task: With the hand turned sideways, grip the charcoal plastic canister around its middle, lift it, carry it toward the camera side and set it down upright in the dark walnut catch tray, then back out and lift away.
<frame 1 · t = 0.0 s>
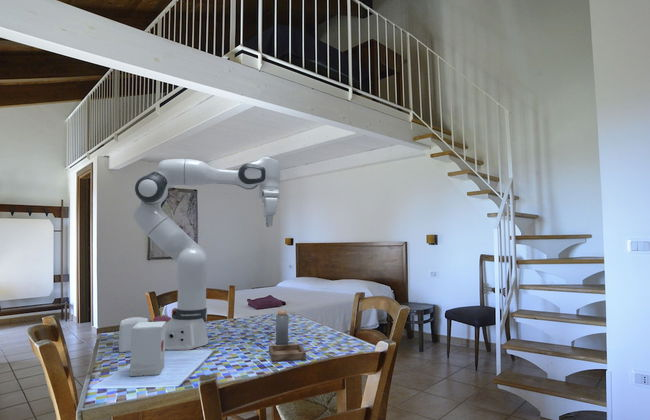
hand: (269, 226, 172), 48 cm above the table, fingers open, 8 cm apart
canister: (281, 345, 161), on the table
supplement box: (147, 372, 129), on the table
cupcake: (161, 331, 183), on the table
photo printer: (133, 351, 152), on the table
catch tray: (286, 356, 147), on the table
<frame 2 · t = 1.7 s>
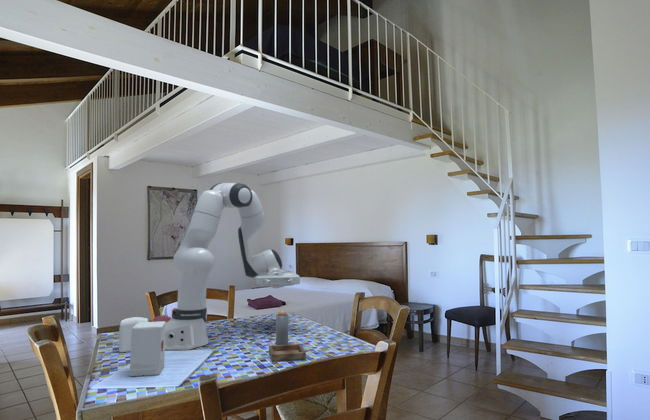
hand: (279, 281, 176), 24 cm above the table, fingers open, 8 cm apart
nothing on the table moved.
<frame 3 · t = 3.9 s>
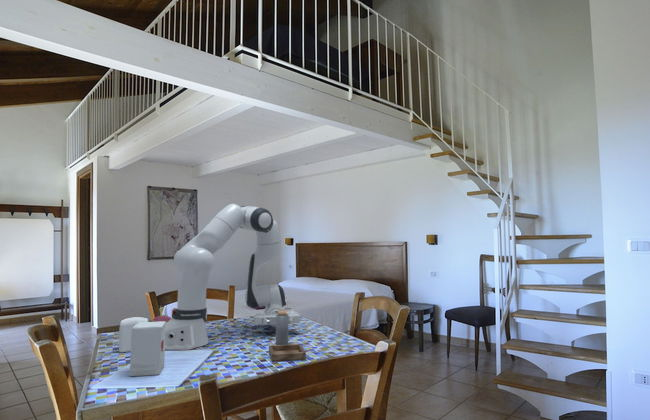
hand: (279, 322, 172), 7 cm above the table, fingers open, 8 cm apart
nothing on the table moved.
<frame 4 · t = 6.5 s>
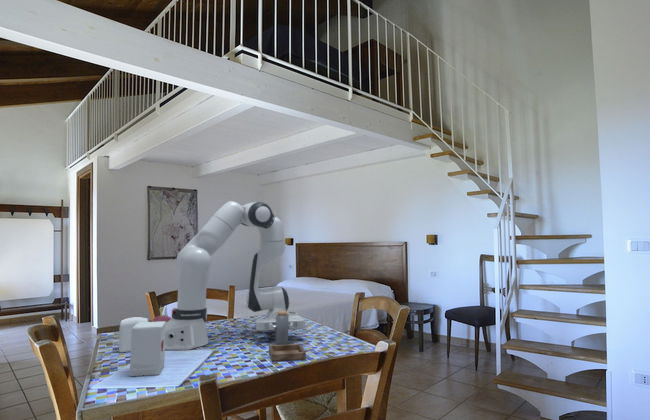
hand: (282, 327, 161), 7 cm above the table, fingers closed on canister, 5 cm apart
canister: (281, 345, 161), on the table, touching gripper
everything else where it was.
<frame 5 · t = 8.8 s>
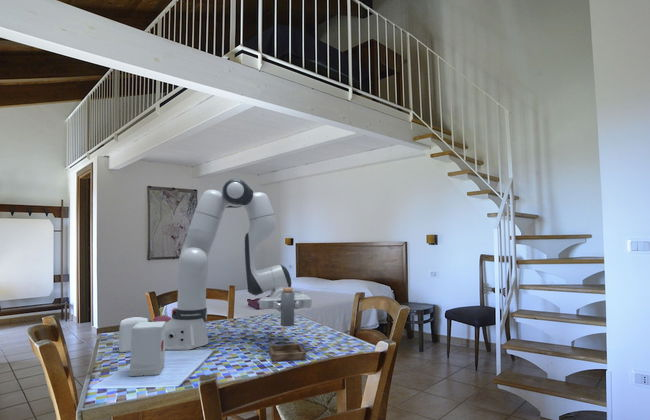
hand: (288, 306, 149), 18 cm above the table, fingers closed on canister, 5 cm apart
canister: (287, 324, 149), point 11 cm above the table, touching gripper
everything else where it was.
when the fingers open (9 cm above the table, at t = 11.1 s): canister drops 1 cm, resting on catch tray.
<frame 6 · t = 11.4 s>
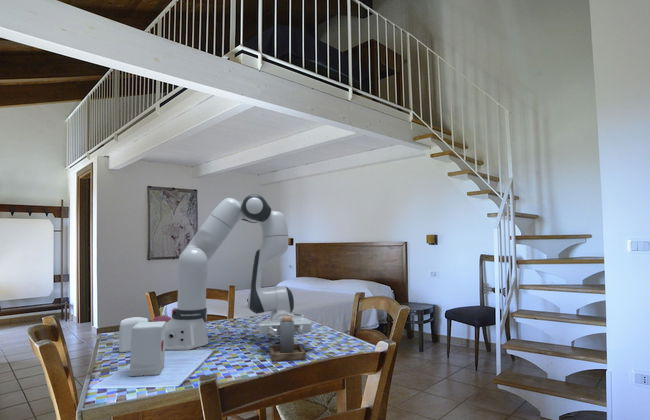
hand: (287, 331, 147), 9 cm above the table, fingers open, 8 cm apart
canister: (286, 354, 147), point 1 cm above the table, touching catch tray
everything else where it was.
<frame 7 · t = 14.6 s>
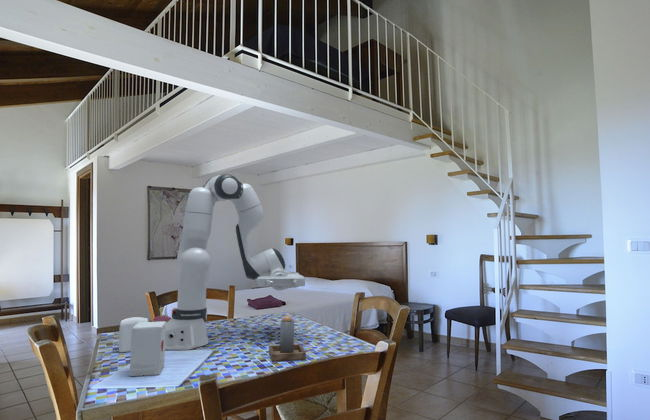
hand: (282, 283, 162), 25 cm above the table, fingers open, 8 cm apart
nothing on the table moved.
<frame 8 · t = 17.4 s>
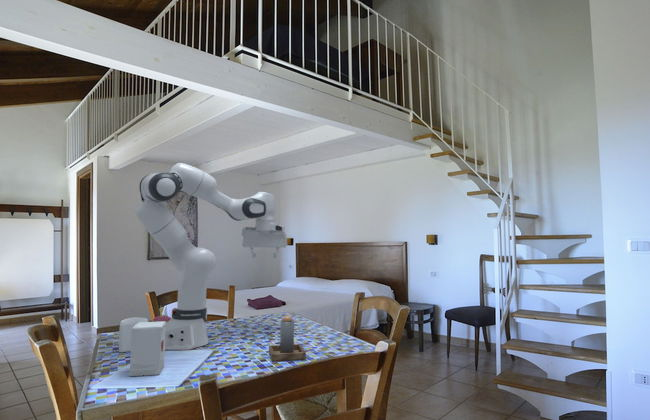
hand: (264, 257, 183), 34 cm above the table, fingers open, 8 cm apart
nothing on the table moved.
at the end: canister 0.0 cm off-centre on the catch tray, point 0.6 cm above the catch tray's base; canister tilted 0°; the gripper is holding nothing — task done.
